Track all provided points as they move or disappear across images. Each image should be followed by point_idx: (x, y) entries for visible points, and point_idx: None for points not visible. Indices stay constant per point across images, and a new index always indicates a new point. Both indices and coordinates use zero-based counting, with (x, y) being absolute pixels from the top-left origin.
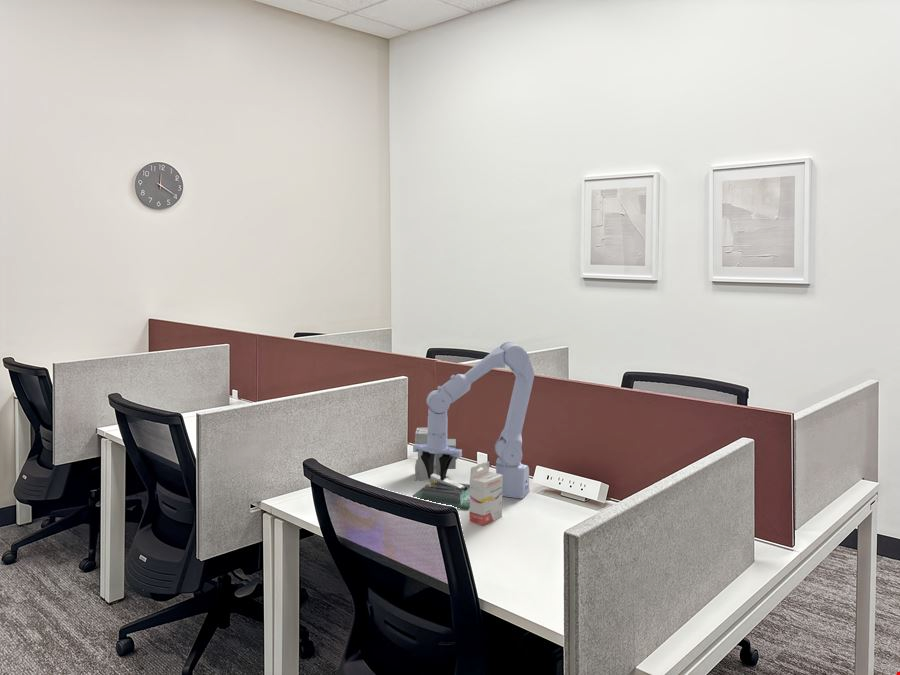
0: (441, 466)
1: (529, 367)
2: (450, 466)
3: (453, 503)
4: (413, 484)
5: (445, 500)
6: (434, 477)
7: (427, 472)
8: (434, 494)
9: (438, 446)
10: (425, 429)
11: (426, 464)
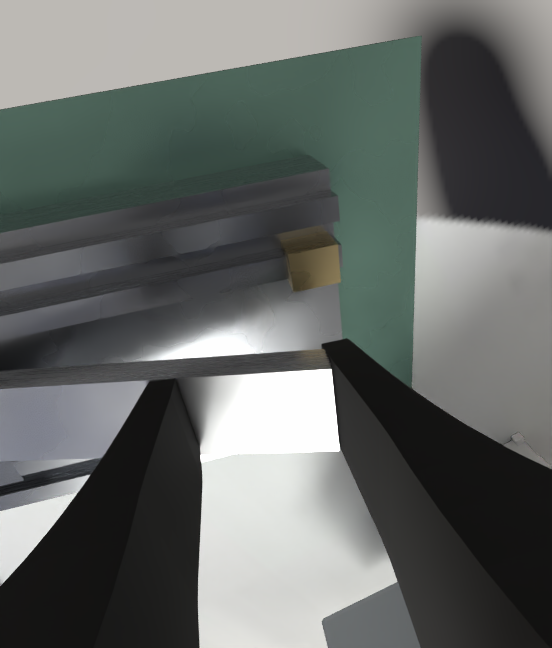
0: (90, 561)
1: None
2: (357, 624)
3: None
4: (509, 385)
5: (38, 199)
6: (264, 370)
7: (385, 374)
8: (171, 193)
9: None
10: None
11: (472, 468)
